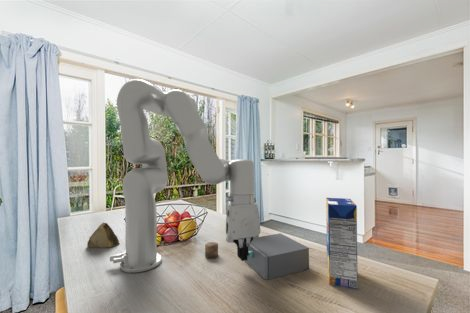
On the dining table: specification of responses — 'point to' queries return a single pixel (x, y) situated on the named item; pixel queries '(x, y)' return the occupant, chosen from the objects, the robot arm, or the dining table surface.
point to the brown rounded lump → (211, 250)
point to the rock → (103, 237)
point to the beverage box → (342, 242)
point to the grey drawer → (258, 261)
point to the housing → (282, 254)
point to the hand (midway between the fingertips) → (242, 258)
